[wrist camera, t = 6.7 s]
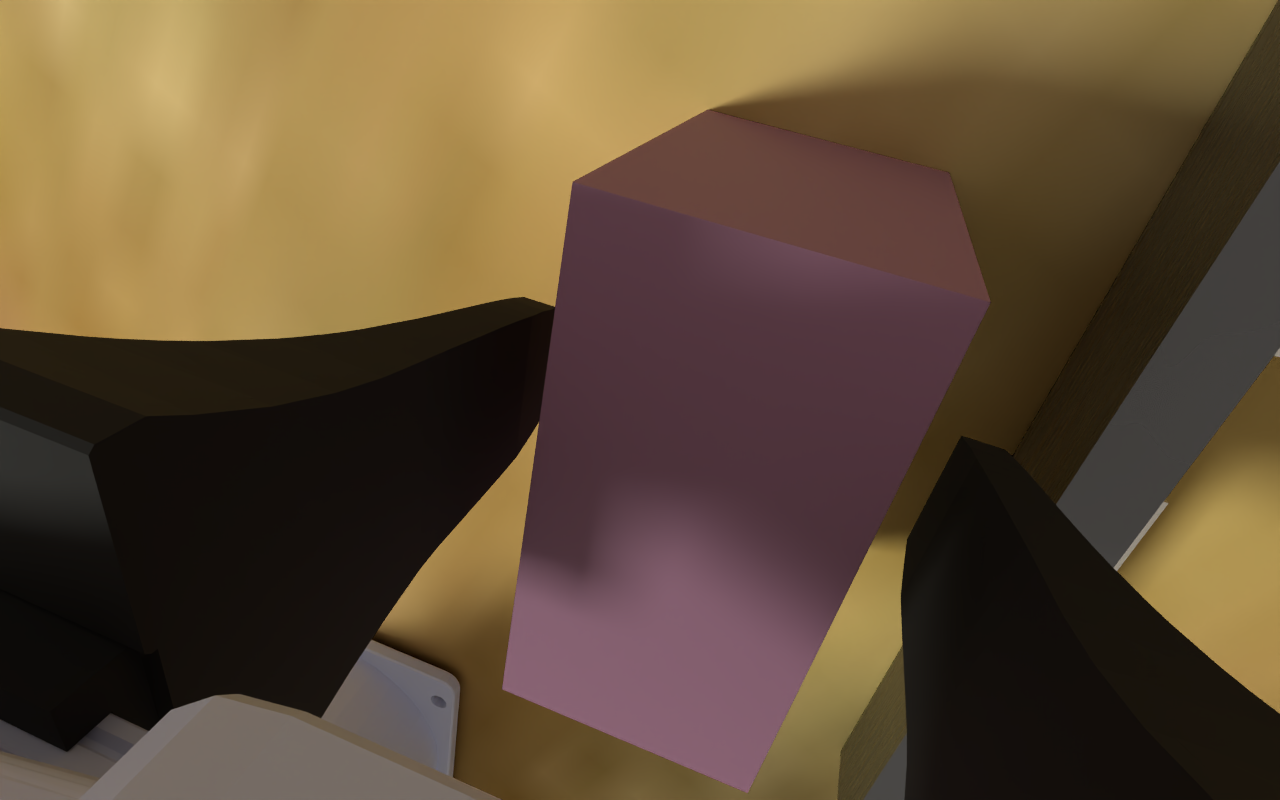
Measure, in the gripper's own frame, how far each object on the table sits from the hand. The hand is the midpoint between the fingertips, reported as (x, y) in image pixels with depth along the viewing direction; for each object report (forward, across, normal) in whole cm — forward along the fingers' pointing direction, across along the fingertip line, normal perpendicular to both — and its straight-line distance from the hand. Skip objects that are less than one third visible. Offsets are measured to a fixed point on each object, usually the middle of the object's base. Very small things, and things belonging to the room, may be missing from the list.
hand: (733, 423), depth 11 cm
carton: (+3, 0, 0) cm, 3 cm away
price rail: (+3, -6, +1) cm, 6 cm away
